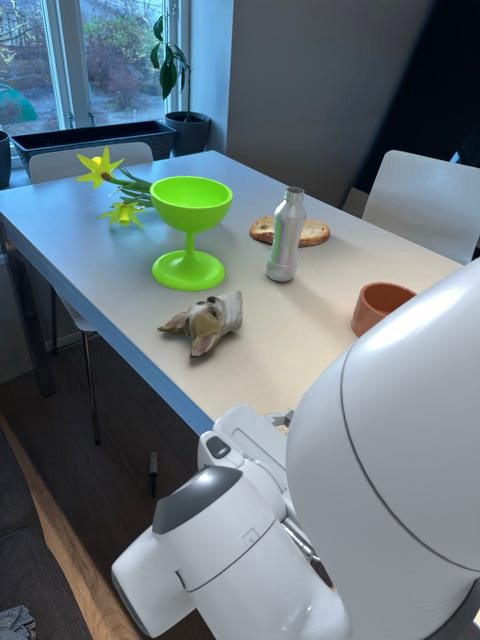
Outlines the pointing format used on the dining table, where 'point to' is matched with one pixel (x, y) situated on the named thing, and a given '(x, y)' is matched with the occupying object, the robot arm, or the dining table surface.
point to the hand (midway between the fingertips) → (320, 435)
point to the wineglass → (190, 229)
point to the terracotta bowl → (377, 304)
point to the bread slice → (310, 234)
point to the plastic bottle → (287, 235)
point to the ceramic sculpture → (208, 322)
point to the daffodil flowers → (126, 208)
